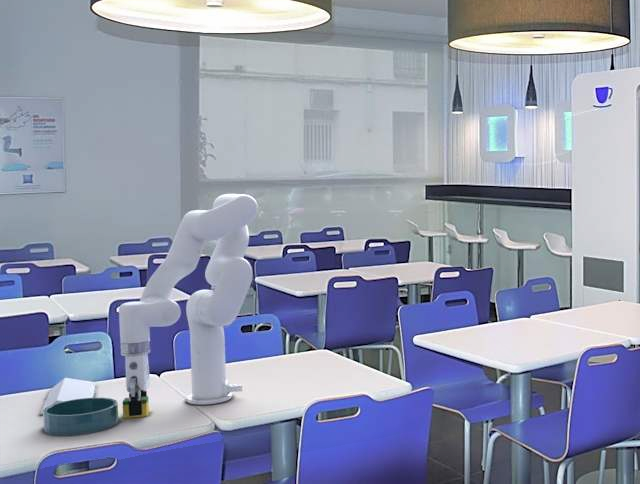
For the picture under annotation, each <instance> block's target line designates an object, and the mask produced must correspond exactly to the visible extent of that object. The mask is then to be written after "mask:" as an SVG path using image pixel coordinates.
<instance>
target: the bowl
mask: <svg viewBox="0 0 640 484" xmlns="http://www.w3.org/2000/svg"><path fill="white" fill-rule="evenodd" d="M42 417H43V418H42V421H43V431H44V433H46V434H48V435H53V436H78V435H85V434H93V433H96V432H100V431H104V430H107V429H110V428H112V427H113V426H115V425H117V424H118V422H119V404H118V401H117V399H114V398H109V397H93V398H82V399H74V400H69V401H64V402H60V403H56V404H53V405H51V406H49V407H46V408H45V409H44V410H43V414H42Z"/></svg>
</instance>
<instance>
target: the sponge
mask: <svg viewBox="0 0 640 484" xmlns="http://www.w3.org/2000/svg"><path fill="white" fill-rule="evenodd" d="M140 400H142V415H137V416H129V402H128V401H129V397H124V399H123V400H122V418H123V419H129V418H131V419H132V418H143V417H144V418H145V417H147V416H148V415H149V413H150V408H149V406H150V405H149V395H147V396H144V397H140Z"/></svg>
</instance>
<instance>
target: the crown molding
mask: <svg viewBox="0 0 640 484" xmlns="http://www.w3.org/2000/svg"><path fill="white" fill-rule="evenodd" d="M95 391H96V384H95V383H94V382H93V381H91V380H83V379H77V378H71V377H70V378H69V377H64V378H62V379H61V380H60V381H59V382H57V383H56V384H55V385H54V386H52V387H51V388H50V389H49V391H48V394H47V396H46V399H45V401H44V404H43V406H42V407H41V408H42V409H41V410H40V416H43V410H44V409H45V408H46V407H49V406H51V405H53V404H56V403H60V402H64V401H69V400H74V399H82V398H94V395H95Z"/></svg>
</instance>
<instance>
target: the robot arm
mask: <svg viewBox="0 0 640 484" xmlns="http://www.w3.org/2000/svg"><path fill="white" fill-rule="evenodd" d="M258 213H259V205H258V202H257V201H256V199H255V198H254V197H252V196H250V195H249V194H238V193H237V194H236V193H226V194H221V195H218V197H216V198H215V199H214V201H213V204H212V208H210V209H205V210H203V209H196V210H190V211H188V212H186V213H185V214H184V216H183V218H182V219H181V221H180V223H179V226H178V229H177V231H176V233H175V236H174V239H173V241H172V243H171V245H170V247H169V250H168V253H167V255H166V257H165V259H164V260H163V261H162V262H161V264H160V265H159V266H158V267H157V269H156V270H155V271H154V272H153V274H152V275H151V276H150V277H149V279H148V281H147V283H146V284H145V287H144V290H143V291H142V294H141V296H140V299H139V301H128V302H124V303H121V304H120V305H119V307H118V320H119V321H118V322H119V342H120V356H122V357H124V361H125V387H126V392H127V393H128V398H129V401H128V402H129V416H137V415H142V400H140V397H144V396H148V395H147V394H148V393H147V390H148V388H149V387H150V384H151V376H150V364H149V356H148V354H150V353H151V332H150V331H151V330H150V328H152V327H155V328H157V327H158V328H159V327H163V328H164V327H170V326H172V325H174V324H176V323H177V322H178V321H179V319H180V318H181V315H182V309H181V307H180V305H179V304H178V303H177V302H176V301H175V300H173V299H170V298H169V296H170V294H171V292H172V290H173V289H174V287H175V286H176V285H177V284H178V283H179V281H181V280H183V278H185V277H187V276H189V275H190V274H191V273H193V272H194V271H195V270H196V269H197V266H198V264H199V261H200V260H201V256H202V254H203V252H204V249H205V246H206V244H207V241H208V242H209V241H210V242H212V241H213V242H214V241H217V242H216V245H215V247H214V250H213V252H212V253H211V254H212V255H211V257H210V259H209V261H208V263H207V266H206V268H205V272H204V277H205V281H206V282H207V283H208V284H209V285H211V286H213V287H215V288H214V290H213V289H200V290H197V291H195V292H193V293H192V294H191V295H190V296H189V297H188V299H187V301H186V305H185V311H186V318H187V323H188V330H189V341H190V342H189V345H190V346H189V348H190V373H191V377H190V378H191V394H188V395H187V396H186V397H185V398H186V402H187V403H188V404H190V405H198V406H199V405H200V406H201V405H202V406H203V405H215V404H220V403H224V402H228V401H229V400H231V399H232V398H233V393H241V392H243V384H239V383H235V384H231V383H229V381H228V379H227V367H226V337H225V330H224V327H226V326H229V325H231V324H232V323H233V322H234V321H235V320H236V319H237V317H238V315H239V313H240V311H241V309H242V307H243V304H244V302H245V299H246V297H247V294H248V293H249V290H250V287H251V284H252V281H253V267H252V265H251V264H250V262H249V261H248V260H247V259H246V258H244V257H245V255H246V252H247V249H248V247H249V242H250V231H249V227H248V225H250V224H251V223H252V222H253V221H254V220H255V219H256V217H257V216H258Z"/></svg>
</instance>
